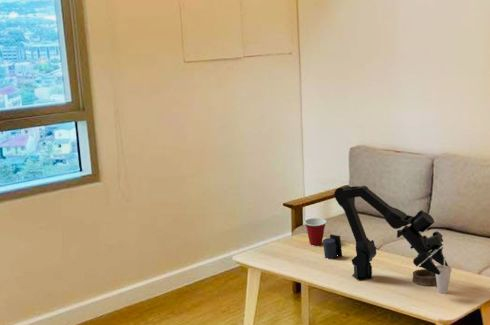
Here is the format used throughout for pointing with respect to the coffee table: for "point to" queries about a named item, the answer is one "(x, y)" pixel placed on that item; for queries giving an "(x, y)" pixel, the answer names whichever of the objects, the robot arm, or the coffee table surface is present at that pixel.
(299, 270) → the coffee table surface
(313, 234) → the plastic cup
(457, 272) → the coffee table surface
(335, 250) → the speaker
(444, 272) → the smoothie
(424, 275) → the bowl
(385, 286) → the coffee table surface
